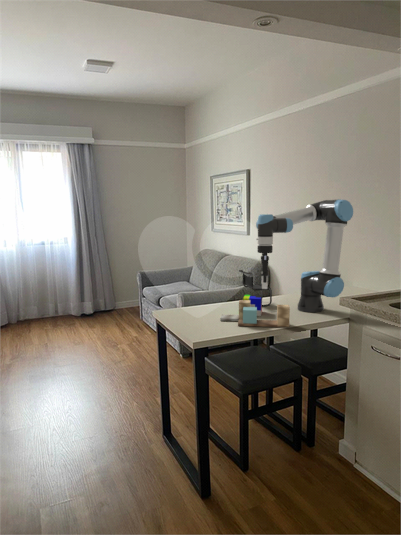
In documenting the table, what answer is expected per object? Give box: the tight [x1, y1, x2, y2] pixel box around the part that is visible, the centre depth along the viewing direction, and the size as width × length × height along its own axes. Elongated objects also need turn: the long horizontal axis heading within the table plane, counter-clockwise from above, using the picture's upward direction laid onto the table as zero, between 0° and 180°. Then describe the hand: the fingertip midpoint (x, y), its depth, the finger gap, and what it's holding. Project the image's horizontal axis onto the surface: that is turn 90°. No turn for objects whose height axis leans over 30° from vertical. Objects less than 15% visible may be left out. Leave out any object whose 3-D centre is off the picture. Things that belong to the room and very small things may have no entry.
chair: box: [238, 269, 273, 308], centre depth 252 cm, size 13×17×22 cm
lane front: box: [237, 304, 291, 328], centre depth 208 cm, size 26×8×10 cm, turn 81°
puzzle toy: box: [242, 294, 263, 317], centre depth 231 cm, size 10×10×10 cm
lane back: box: [219, 299, 250, 322], centre depth 219 cm, size 16×8×10 cm, turn 81°
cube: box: [243, 307, 258, 324], centre depth 209 cm, size 7×7×7 cm
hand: (264, 286), depth 205 cm, fingers open, 13 cm apart
